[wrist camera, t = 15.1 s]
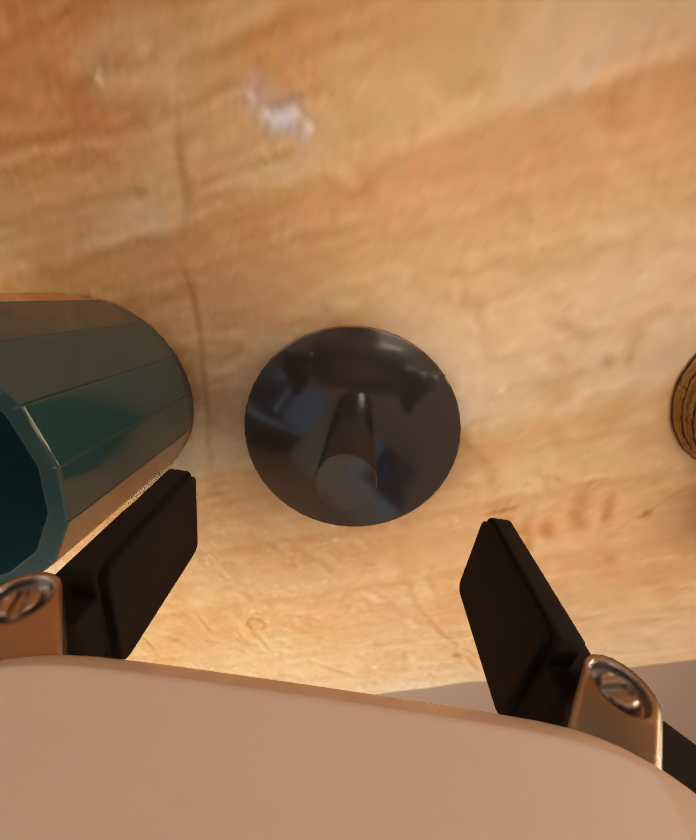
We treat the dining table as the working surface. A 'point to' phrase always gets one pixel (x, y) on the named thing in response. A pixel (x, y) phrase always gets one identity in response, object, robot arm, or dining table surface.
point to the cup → (79, 420)
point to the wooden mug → (686, 410)
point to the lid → (352, 426)
